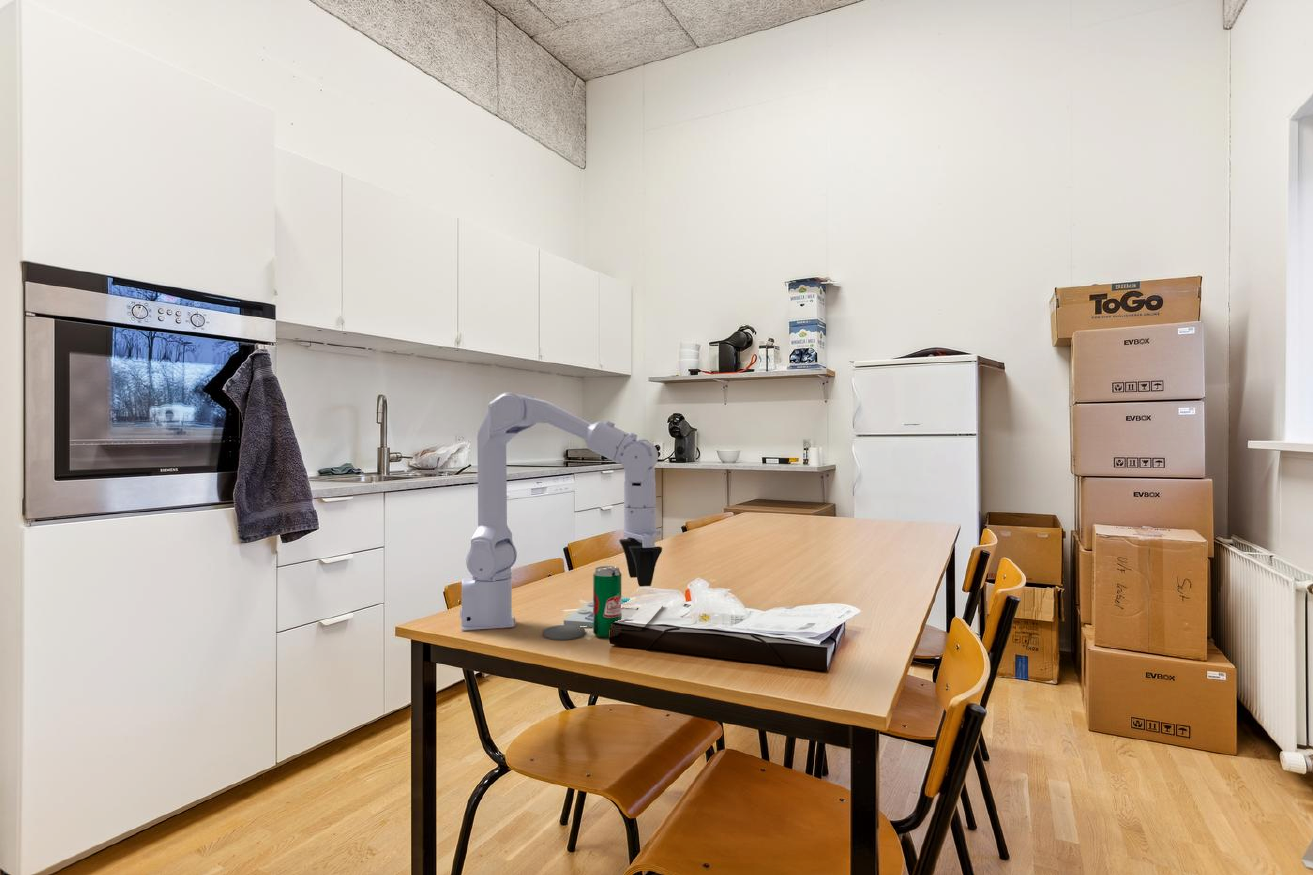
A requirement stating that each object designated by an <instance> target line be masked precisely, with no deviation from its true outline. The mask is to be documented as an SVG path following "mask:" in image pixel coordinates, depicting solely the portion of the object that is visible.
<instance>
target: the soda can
mask: <svg viewBox="0 0 1313 875" xmlns="http://www.w3.org/2000/svg"><path fill="white" fill-rule="evenodd" d="M592 584H593V585H592V587H593V588H592V595H593V596H592V599H593V628H592V631H593V632H592V633H593V634H594V636H596V637H597V638H600V639H610V638H609V630H610V626H611V624H612V623H613V622H615V621H618V620H621V619H622V608H621V599H622V573H621V571H620V567H618V566H613V565H604V566H598V567H595V571H594V573H593V575H592Z"/></svg>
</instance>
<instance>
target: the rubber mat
mask: <svg viewBox="0 0 1313 875" xmlns="http://www.w3.org/2000/svg"><path fill="white" fill-rule="evenodd" d="M585 629H586V628H584V627H580V626H575V625H564V624H559V625H553V626H549V627H546V628H544V629H543V631H542V636H543V638H545V639H547V640H553V641H569V640H575V639H579V638H583V636H584V635H585V634H586V630H585Z"/></svg>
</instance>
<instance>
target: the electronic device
mask: <svg viewBox="0 0 1313 875" xmlns="http://www.w3.org/2000/svg"><path fill="white" fill-rule="evenodd" d="M630 599H631V598H630V597H629V598H627V597H626V598H621V604H623V603H625V602H627V601H629V600H630ZM563 625H575V626H587V627H592V628H591V629H593V598H592V599H591V600H589V601H588V602H587V603H585V604H584V605H582V606H581V607H579V609H577V610H576V611H574V612H573V613H572V614H570V615H568V616H567V617H566V618H565V619H563Z"/></svg>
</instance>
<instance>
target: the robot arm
mask: <svg viewBox="0 0 1313 875" xmlns="http://www.w3.org/2000/svg"><path fill="white" fill-rule="evenodd" d="M536 424H549V425H551V426H553V427H555V428H558V429H559V430H560V429H561V430H562V431H565V432H567V433H569V434H572V435H573V436H576V437H578V438H580V439H583V440H584V442H585V444H586V447H587V449H588V450H589V451H591V452H594V453H595V454H598V455H599V456H600V455H601V456H602V457H604V458H606V459H608V460H610V461H612V462H613V463H614V462H615V463H616V464H621V466H622V468H623V469H624V482H623V485H624V486H623V488H624V489H623V498H624V499H623V500H624V504H623V505H624V507H623V513H624V514H623V515H624V516H623V520H624V522H623V524H624V525H623V530H622V535H623V537H626V538H623V539H622V538H621V539H619V543H620V545H621V547H622V550H623V553H624V556H625V562H626V566H627V571H628V575H629V578H631V579H633V578H634V579H635V578H636V580H637V584H638V586H639V587H651V586H652V583H653V580H654V575H655V574H654V573H655V570H656V565H657V562H658V560H659V557H660V555H661V553H662V551H663V547H661V545H660V546H656V544H655V543H656V542H655V541H656V536H658V535H663V530H661V529H657V526H656V524H657V523H656V522H657V520H656V518H657V516H656V515H657V514H656V511H657V510H656V508H657V507H656V506H657V505H656V504H657V502H656V500H657V498H656V495H657V494H656V486H657V484H656V468H655V466H656V465H657V463H658V460H659V452H658V450H657V447H656V446H655V445H654V444H652V442H650V441H649V440H648V439H637V437H638V434H636V433H634V432H632V433H628V432H627V431H624V430H622V429H619V428H617V427H615V423H614V422H612V421H610V420H606V422H605V421H602V420H600V421H597V422H595V423H591V422H589V421H587V420H585V419H583V418H581V417H580V416H577V415H575V414H574V413H572V412H569V411H568V410H566V409H564V408H562V407H560V406H558V405H556V404H555V403H552V402H550V401H547V400H545V399H540V398H536V397H534V396H532V395H528V394H524V395H523V394H516V393H514V392H510V391H509V392H504V393H501V394H499V395H497V396H496V398H493V400H492V401H490V403H488V405H487V413H486V415H485V417H484V419H483V421H482V423H481V424H480V426H479V429H478V431H477V438H476V440H477V528H476V530H475V531H474V533H473V535H472V537H471V539H470V548H469V551H468V553H467V556H466V560H465V563H466V568H467V571H468V572H469V573H470V575H471V576H472V577H469V578H462V579H461V608H460V609H459V618H460V619H461V631H474V630H488V629H489V630H490V629H502V628H503V629H504V628H505V629H507V628H514V627H515V620H514V614H513V613H512V611H513V610H512V608H513V607H512V603H513V602H512V599H513V598H512V595H513V594H512V592H513V590H512V589H513V588H512V586H513V585H512V583H513V582H512V576H513V575H512V574H513V573H512V567H513V566H514V565H515V563H516V561H517V559H518V558H517V556H518V553H517V549H516V546H515V544H514V541H513V532H512V531H511V529H510V528H509V527H508V523H507V522H508V502H507V499H508V496H507V489H508V488H507V481H508V480H507V475H508V474H507V444H508V443H509V442H510V441H511V440H512V439H513V438H515V437H516V436H517V435H518V434H519V433H520V432H522V431H525V430H527V429H529V428H532V427H533V426H535V425H536Z"/></svg>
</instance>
